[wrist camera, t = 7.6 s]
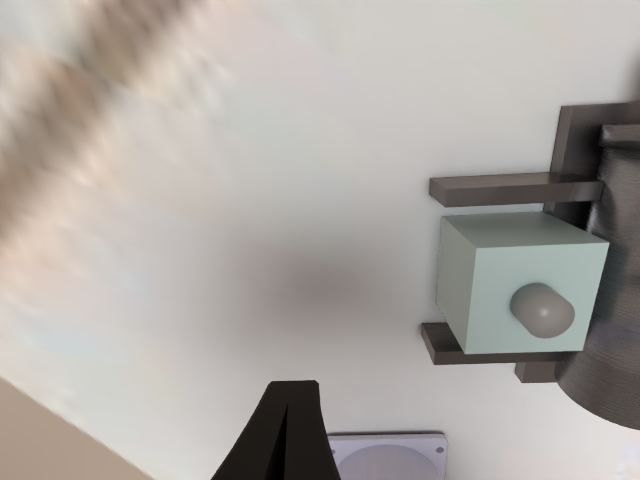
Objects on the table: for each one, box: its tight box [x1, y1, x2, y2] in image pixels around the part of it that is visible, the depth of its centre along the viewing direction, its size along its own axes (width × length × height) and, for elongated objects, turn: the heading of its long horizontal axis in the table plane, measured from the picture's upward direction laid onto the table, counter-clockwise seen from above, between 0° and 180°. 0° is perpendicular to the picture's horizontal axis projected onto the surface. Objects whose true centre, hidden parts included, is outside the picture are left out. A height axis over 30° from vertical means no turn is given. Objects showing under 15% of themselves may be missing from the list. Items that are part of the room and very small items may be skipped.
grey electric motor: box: [422, 102, 640, 430], centre depth 15 cm, size 17×12×6 cm
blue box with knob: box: [436, 211, 610, 354], centre depth 16 cm, size 5×5×6 cm
